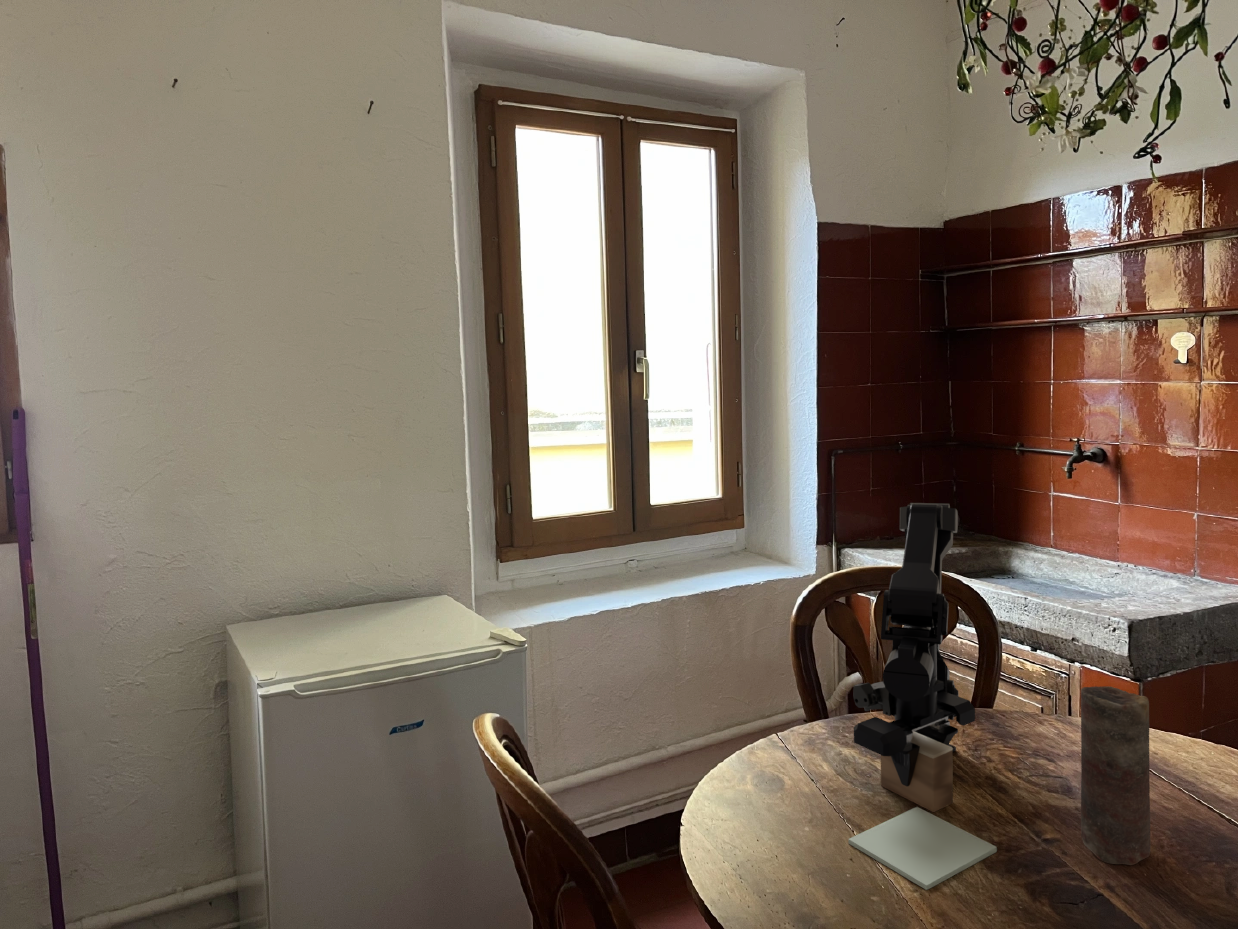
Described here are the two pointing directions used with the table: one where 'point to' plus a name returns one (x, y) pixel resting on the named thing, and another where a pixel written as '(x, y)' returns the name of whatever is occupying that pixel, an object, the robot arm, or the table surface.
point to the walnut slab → (924, 775)
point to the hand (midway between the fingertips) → (916, 780)
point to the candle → (1115, 774)
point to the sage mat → (922, 847)
